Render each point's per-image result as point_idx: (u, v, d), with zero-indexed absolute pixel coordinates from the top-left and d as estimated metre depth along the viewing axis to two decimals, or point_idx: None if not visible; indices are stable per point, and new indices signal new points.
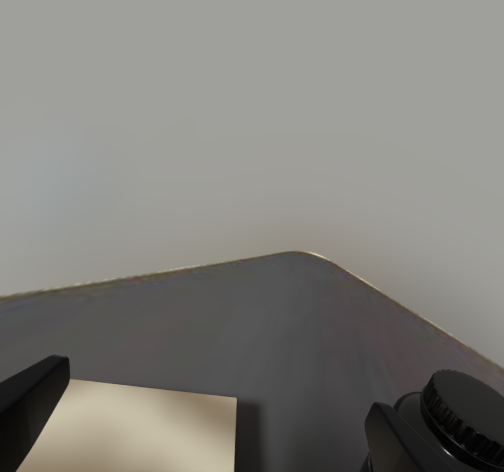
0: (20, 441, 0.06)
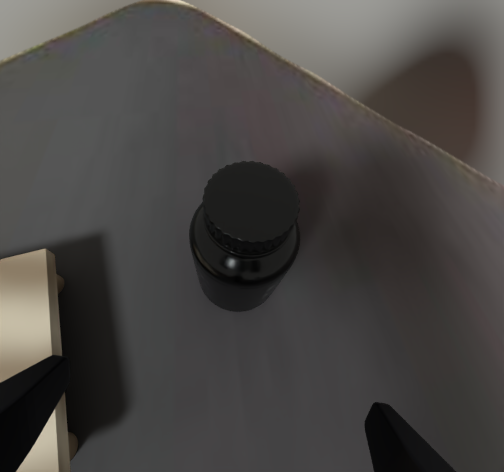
0: (20, 441, 0.06)
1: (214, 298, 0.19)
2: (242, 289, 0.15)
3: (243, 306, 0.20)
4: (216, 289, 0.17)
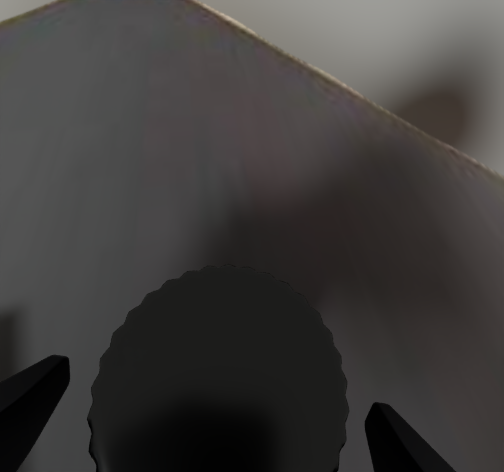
0: (20, 441, 0.06)
1: None
2: None
3: None
4: None
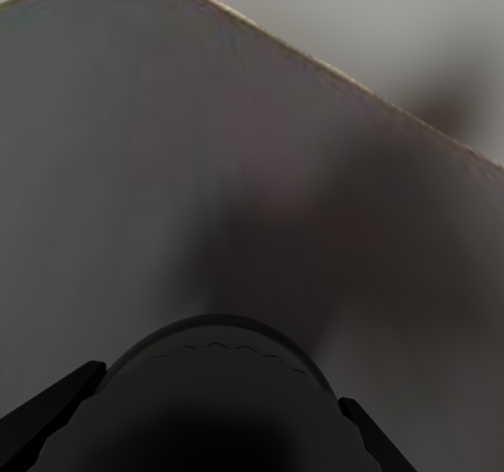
0: None
1: None
2: None
3: None
4: None
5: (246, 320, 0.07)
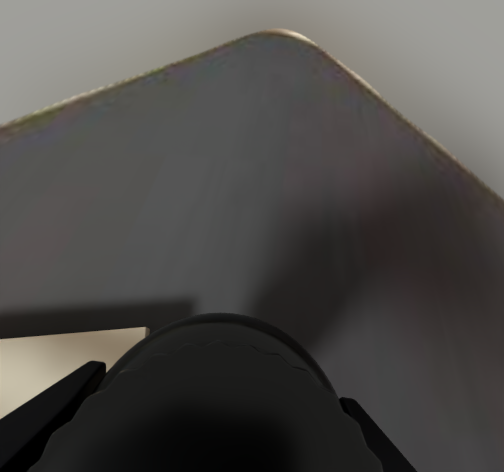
0: None
1: None
2: None
3: None
4: None
5: (248, 319, 0.07)
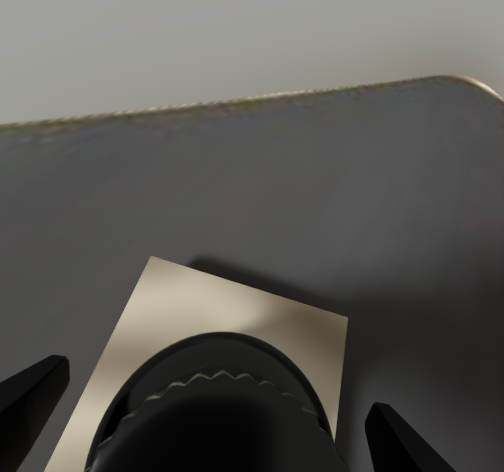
0: (20, 441, 0.06)
1: None
2: None
3: None
4: None
5: (245, 338, 0.08)
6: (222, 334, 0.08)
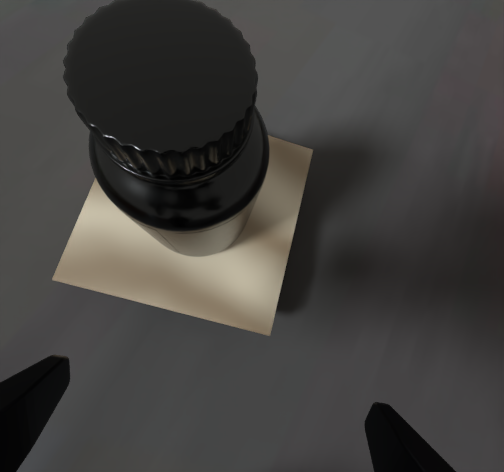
0: (20, 441, 0.06)
1: (161, 243, 0.15)
2: (179, 233, 0.10)
3: (200, 252, 0.15)
4: (150, 233, 0.12)
5: None
6: None
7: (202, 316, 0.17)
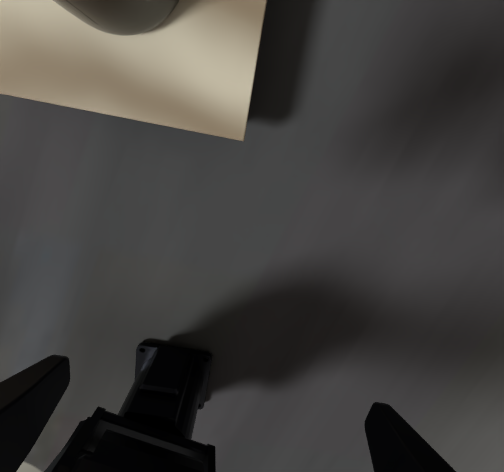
0: (20, 441, 0.06)
1: (54, 0, 0.10)
2: None
3: (114, 10, 0.10)
4: None
5: None
6: None
7: (159, 122, 0.14)
